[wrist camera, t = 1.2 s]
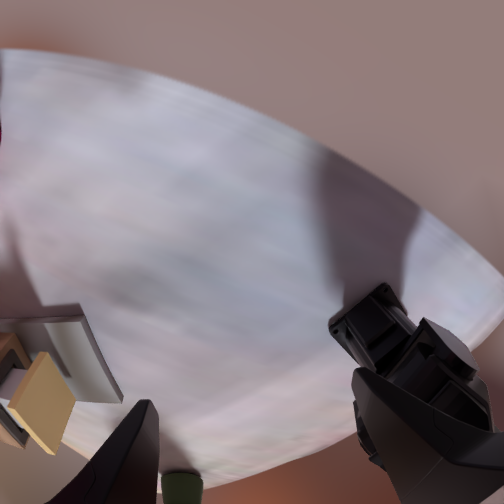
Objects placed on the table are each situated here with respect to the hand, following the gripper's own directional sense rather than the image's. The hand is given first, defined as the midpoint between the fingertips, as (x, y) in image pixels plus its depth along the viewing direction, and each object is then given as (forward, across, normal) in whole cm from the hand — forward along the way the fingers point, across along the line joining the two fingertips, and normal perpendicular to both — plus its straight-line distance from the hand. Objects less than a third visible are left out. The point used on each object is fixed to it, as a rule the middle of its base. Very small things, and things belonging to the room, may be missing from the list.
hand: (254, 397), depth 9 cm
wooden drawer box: (+12, +22, +8) cm, 26 cm away
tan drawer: (+9, +22, +8) cm, 25 cm away
